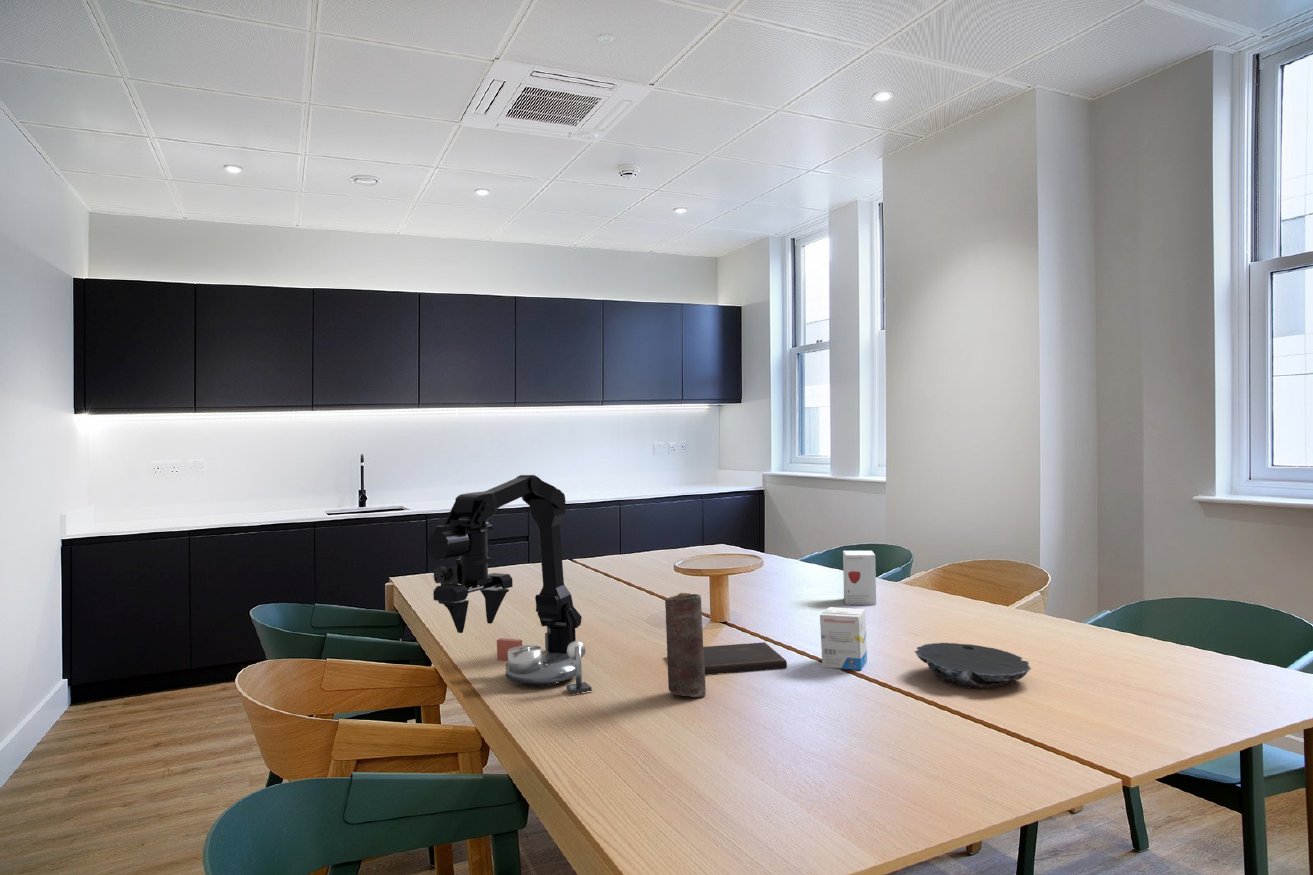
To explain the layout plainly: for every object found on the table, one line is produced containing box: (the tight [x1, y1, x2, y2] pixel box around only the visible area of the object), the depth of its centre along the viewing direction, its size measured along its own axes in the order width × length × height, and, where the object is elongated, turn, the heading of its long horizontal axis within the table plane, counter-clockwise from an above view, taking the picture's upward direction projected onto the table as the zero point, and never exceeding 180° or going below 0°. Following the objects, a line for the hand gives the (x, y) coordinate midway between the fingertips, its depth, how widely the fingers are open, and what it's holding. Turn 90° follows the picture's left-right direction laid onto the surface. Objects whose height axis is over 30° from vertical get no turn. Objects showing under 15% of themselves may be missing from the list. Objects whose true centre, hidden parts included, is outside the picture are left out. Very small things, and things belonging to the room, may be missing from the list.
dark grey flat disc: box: [913, 642, 1032, 691], centre depth 163 cm, size 22×22×5 cm
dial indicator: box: [566, 640, 593, 695], centre depth 163 cm, size 4×6×10 cm, turn 24°
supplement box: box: [842, 550, 877, 606], centre depth 239 cm, size 9×9×15 cm
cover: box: [507, 644, 543, 674], centre depth 167 cm, size 7×7×5 cm
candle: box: [664, 592, 707, 698], centre depth 157 cm, size 8×7×20 cm
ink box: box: [819, 606, 868, 671], centre depth 175 cm, size 9×8×12 cm
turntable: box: [496, 638, 576, 685], centre depth 171 cm, size 16×16×6 cm
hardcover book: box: [703, 641, 788, 676], centre depth 179 cm, size 16×23×2 cm
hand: (475, 628), depth 167 cm, fingers open, 9 cm apart
